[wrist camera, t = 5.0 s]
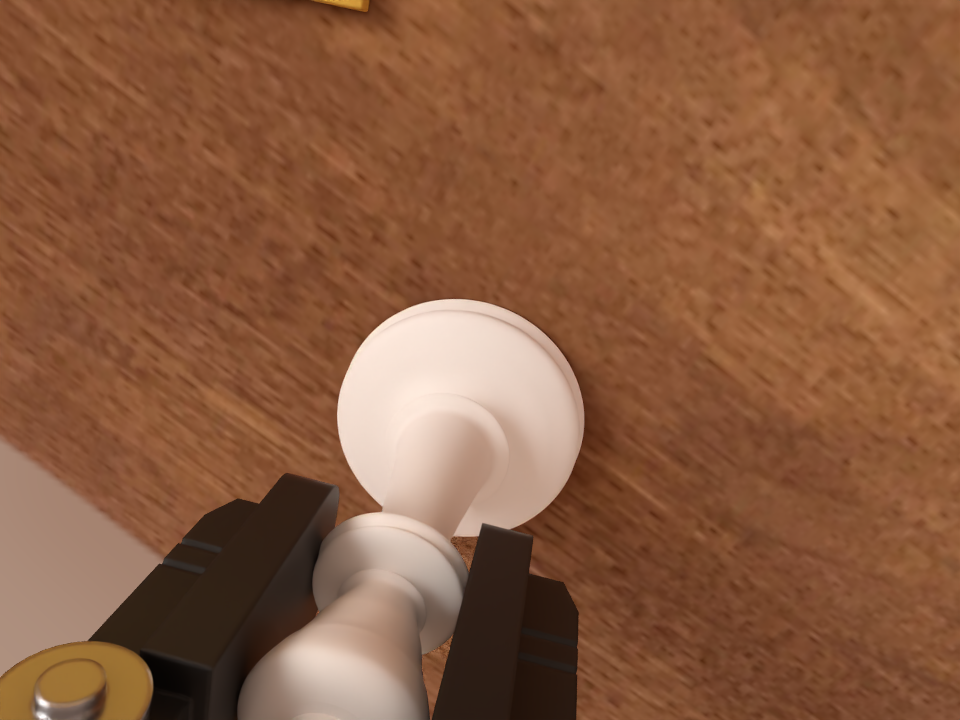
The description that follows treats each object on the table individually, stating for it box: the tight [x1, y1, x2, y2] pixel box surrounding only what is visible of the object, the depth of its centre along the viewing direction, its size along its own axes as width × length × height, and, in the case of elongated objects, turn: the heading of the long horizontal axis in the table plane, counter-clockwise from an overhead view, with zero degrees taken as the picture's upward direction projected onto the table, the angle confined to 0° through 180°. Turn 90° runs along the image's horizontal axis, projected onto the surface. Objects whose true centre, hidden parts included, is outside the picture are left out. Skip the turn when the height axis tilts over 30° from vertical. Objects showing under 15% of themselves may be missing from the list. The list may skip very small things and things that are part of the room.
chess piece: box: [237, 299, 584, 720], centre depth 10 cm, size 5×5×10 cm
